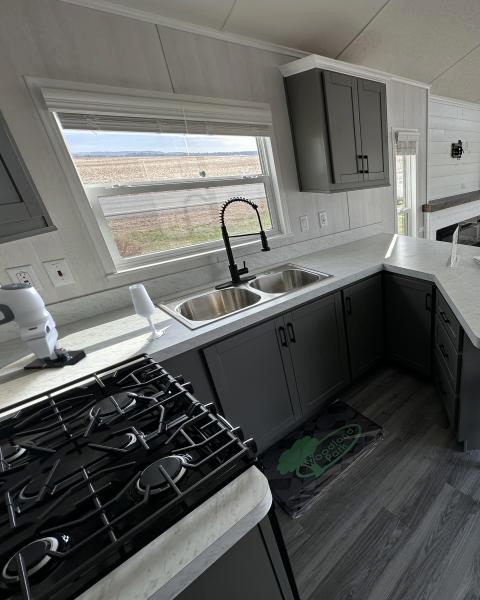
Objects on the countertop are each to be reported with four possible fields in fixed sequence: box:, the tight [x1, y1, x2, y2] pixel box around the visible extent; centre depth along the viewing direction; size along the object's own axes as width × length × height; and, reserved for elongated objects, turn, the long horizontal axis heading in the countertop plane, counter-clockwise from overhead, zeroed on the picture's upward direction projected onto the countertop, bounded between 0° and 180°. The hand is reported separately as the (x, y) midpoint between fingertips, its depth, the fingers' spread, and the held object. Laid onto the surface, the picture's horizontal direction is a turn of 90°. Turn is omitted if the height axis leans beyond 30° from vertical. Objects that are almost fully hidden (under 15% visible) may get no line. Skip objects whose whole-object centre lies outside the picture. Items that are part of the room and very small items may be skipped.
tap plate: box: [22, 349, 87, 371], centre depth 127 cm, size 14×11×3 cm
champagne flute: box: [128, 283, 164, 340], centre depth 141 cm, size 7×7×24 cm
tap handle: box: [43, 347, 68, 361], centre depth 126 cm, size 7×2×4 cm, turn 107°
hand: (55, 356), depth 126 cm, fingers closed on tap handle, 2 cm apart
